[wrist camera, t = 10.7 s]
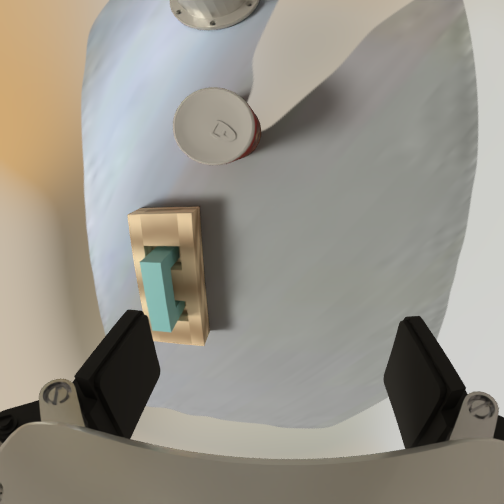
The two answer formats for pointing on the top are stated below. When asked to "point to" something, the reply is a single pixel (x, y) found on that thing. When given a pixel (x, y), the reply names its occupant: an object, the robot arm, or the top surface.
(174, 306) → the teal long block
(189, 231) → the tan slotted block
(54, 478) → the robot arm
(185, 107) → the canned food
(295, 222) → the top surface
